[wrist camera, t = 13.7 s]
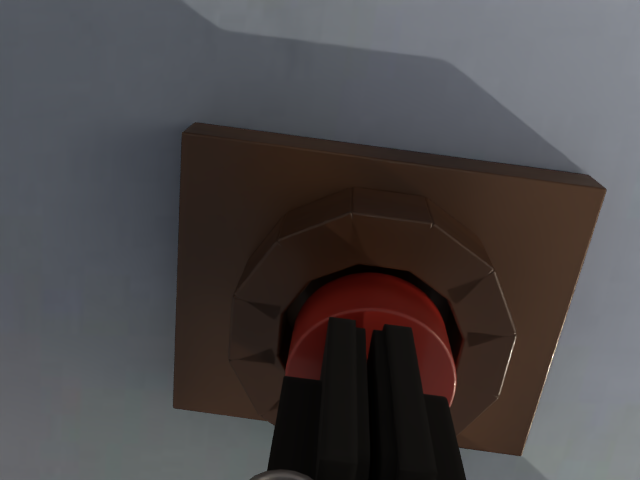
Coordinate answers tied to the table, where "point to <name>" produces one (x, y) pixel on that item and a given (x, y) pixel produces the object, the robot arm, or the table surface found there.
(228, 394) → the button block
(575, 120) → the table surface
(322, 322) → the button
